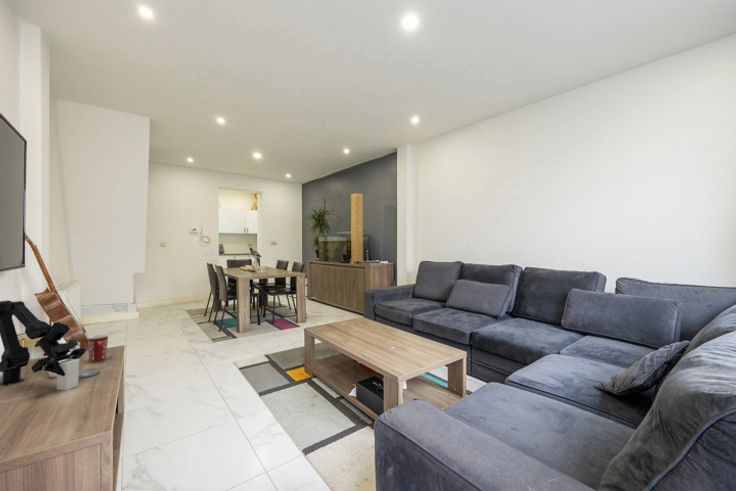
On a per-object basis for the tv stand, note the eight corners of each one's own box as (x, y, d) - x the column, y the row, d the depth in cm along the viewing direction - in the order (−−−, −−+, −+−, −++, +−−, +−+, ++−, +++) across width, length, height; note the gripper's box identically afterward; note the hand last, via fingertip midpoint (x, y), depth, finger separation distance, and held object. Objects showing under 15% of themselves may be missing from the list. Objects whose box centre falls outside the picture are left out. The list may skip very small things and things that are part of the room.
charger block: (56, 389, 138) (57, 362, 139) (68, 384, 143) (70, 358, 143) (66, 390, 138) (67, 363, 138) (78, 385, 143) (79, 359, 143)
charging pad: (65, 376, 151) (65, 374, 151) (92, 369, 162) (92, 366, 162) (77, 380, 147) (77, 378, 147) (104, 372, 157) (104, 370, 157)
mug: (86, 359, 175) (87, 336, 175) (106, 356, 181) (107, 333, 182) (87, 365, 166) (88, 341, 166) (109, 362, 172) (110, 337, 173)
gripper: (38, 341, 132) (58, 369, 130) (83, 330, 151) (102, 354, 149) (22, 358, 133) (42, 386, 131) (69, 345, 152) (87, 369, 150)
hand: (70, 373), depth 140 cm, fingers closed on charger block, 5 cm apart
